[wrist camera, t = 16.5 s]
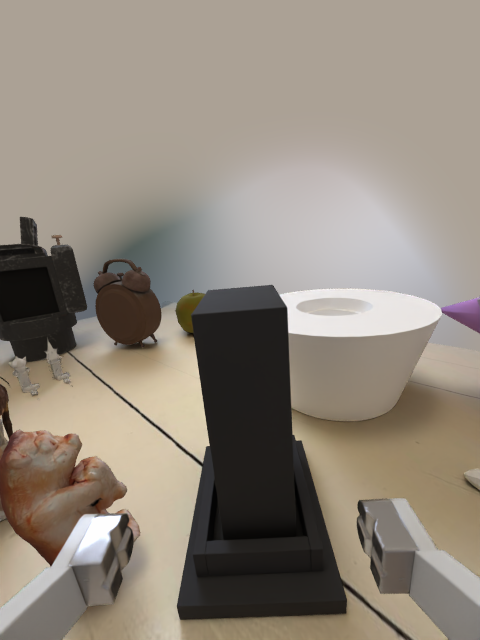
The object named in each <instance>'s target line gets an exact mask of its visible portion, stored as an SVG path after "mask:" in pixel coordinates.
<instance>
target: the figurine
mask: <svg viewBox="0 0 480 640" xmlns="http://www.w3.org/2000/svg"><path fill="white" fill-rule="evenodd" d="M81 447H82V443H81V441H80V439H79V436H78V435H77V434H68V435H66V436H64V437H63V436H54V435H52V434H51V433H50V432H48V431H45V430H44V431H36V432H23V431H21V430H18V431H16V432H14V433H13V434H12V435H11V436H10V439H9V442H8V444H7V446H6V448H5V449H4V451H3V455H2V457H1V459H0V498H1V504H2V508H3V511H4V513H5V516H6V518H7V520H8V522H9V523H10V525H11V526H12V528H13V529H14V531H15V532H16V534H18V535H19V536H20V537H21V538H22V539H24V540H25V541H27V542H28V543H30V544H31V545H32V546H33V547H34V548H35V549H36V550H37V551H38V553H39V554H40V555H41V556H42V557H43V558H44V559H45V560H46V561H47V562H48V563H49V564H50V566H52V564H53V563H54V561H55V559H56V558H57V556H58V554H59V553H60V551H61V549H62V547H63V546H64V544H65V542H66V541H67V539H68V537H69V536H70V534H71V532H72V531H73V529H74V527H75V526H76V524H77V522H78V521H79V519H80V518H81V517H82V516H83V515H84V514H110V513H108V512H107V511H106V509H107V508H109V507H110V506H111V505H112V504H113V502H114V501H116V500H117V499H120V498H123V497H124V496H125V494H126V492H127V488H126V486H125V485H124V484H123V483H122V482H119V481H118V480H117V479H116V478H115V476H114V474H113V472H112V471H111V469H110V468H109V466H108V465H107V464H106V463H105V462H103V461H102V460H101V459H100V458H98V457H97V456H95V457H89V458H86V459H84V460H81V461H80V463H79V464H78V465H77V466H76V467H75V463H76V459H77V456H78V453H79V451H80V449H81ZM74 467H75V468H74ZM117 513H127V514H128V517H129V523H128V525H127V526H129V527H130V528H131V529H132V531H133V535H134V542H135V540H136V539H137V538H138V537H139V536H140V530H139V526H138V524H137V523H136V521H135V519H134V518H133V517H132V515H131V513H130V512H129V510H126V509H122V510H120V511H118V512H117Z"/></svg>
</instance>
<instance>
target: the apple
mask: <svg viewBox="0 0 480 640" xmlns="http://www.w3.org/2000/svg"><path fill="white" fill-rule="evenodd" d="M204 295H205V294H203V293H194V291H193V293H190V294H187V295H185V296H183V297H182V298H181V299H180V300H179V302H178V303H177V307H176V315H177V318H178V323H179V324H180V325H181V327H182V328H183V330H185V331H186V332H190V333H193V326H192V319H191V314H192V313H193V311H194V310H195V309H196V307H197V306H198V304H199V303H200V301H201V300H202V298H203V297H204Z"/></svg>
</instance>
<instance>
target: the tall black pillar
mask: <svg viewBox="0 0 480 640" xmlns="http://www.w3.org/2000/svg"><path fill="white" fill-rule="evenodd" d="M191 319H192V326H193V333H194V340H195V347H196V354H197V361H198V368H199V375H200V381H201V388H202V395H203V402H204V409H205V416H206V423H207V430H208V436H209V443H210V450H211V457H212V464H213V471H214V478H215V485H216V492H217V498H218V505H219V512H220V519H221V526H222V533H223V540H240V539H261V538H282V537H296V514H295V489H294V463H293V438H292V413H291V387H290V362H289V336H288V311H287V306H286V305H285V303H284V302H283V300H282V298H281V297H280V295H279V294H278V292H277V291H276V289H275V288H274V286H273V285H267V286H254V287H243V288H231V289H219V290H208V291H207V293H206V294H205V295H204V297H203V298H202V300H201V301H200V303H199V304H198V306H197V307H196V309H195V310H194V311H193V313H192V314H191Z"/></svg>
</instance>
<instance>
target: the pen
mask: <svg viewBox="0 0 480 640" xmlns="http://www.w3.org/2000/svg"><path fill="white" fill-rule="evenodd" d="M464 476H465V477H466V479H467V480H468V481H469V482H470V483H471V484H472V485H473V486H475V487H476V488H477V489H479V490H480V469H472V470H468V471H467V472H465V473H464Z"/></svg>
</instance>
